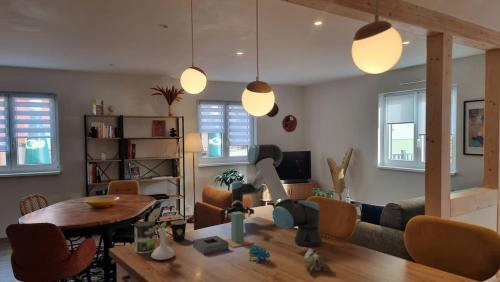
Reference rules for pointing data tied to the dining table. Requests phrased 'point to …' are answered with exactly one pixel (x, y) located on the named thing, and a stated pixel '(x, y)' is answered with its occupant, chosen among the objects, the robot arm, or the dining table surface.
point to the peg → (237, 227)
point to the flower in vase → (163, 249)
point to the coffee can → (144, 237)
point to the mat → (233, 245)
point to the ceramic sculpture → (315, 261)
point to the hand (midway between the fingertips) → (237, 215)
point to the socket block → (210, 245)
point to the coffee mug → (178, 230)
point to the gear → (258, 253)
